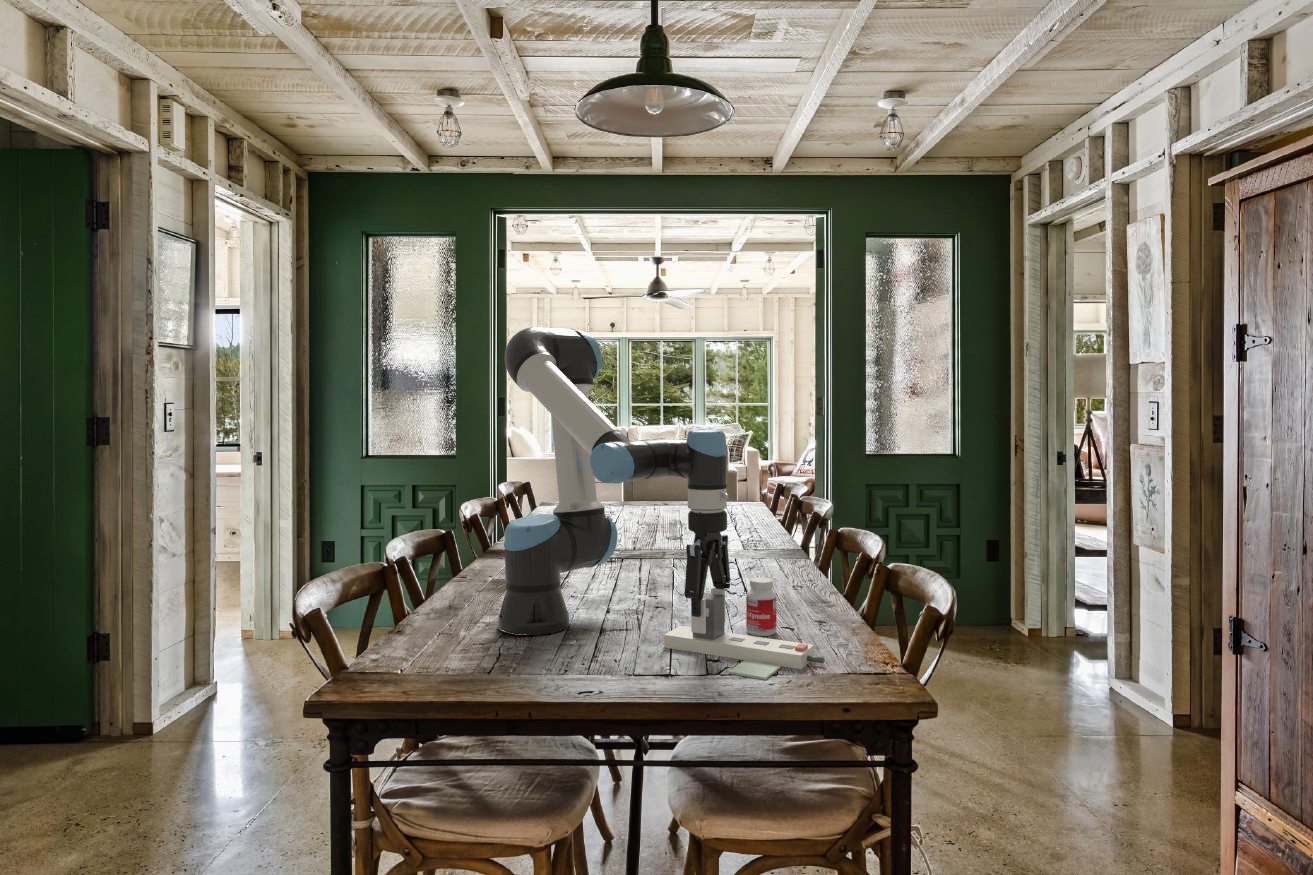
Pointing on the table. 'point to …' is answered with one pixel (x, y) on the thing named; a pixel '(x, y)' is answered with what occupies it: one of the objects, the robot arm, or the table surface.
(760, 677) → the felt pad
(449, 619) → the table surface
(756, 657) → the power strip
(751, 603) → the pill bottle
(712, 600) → the block
